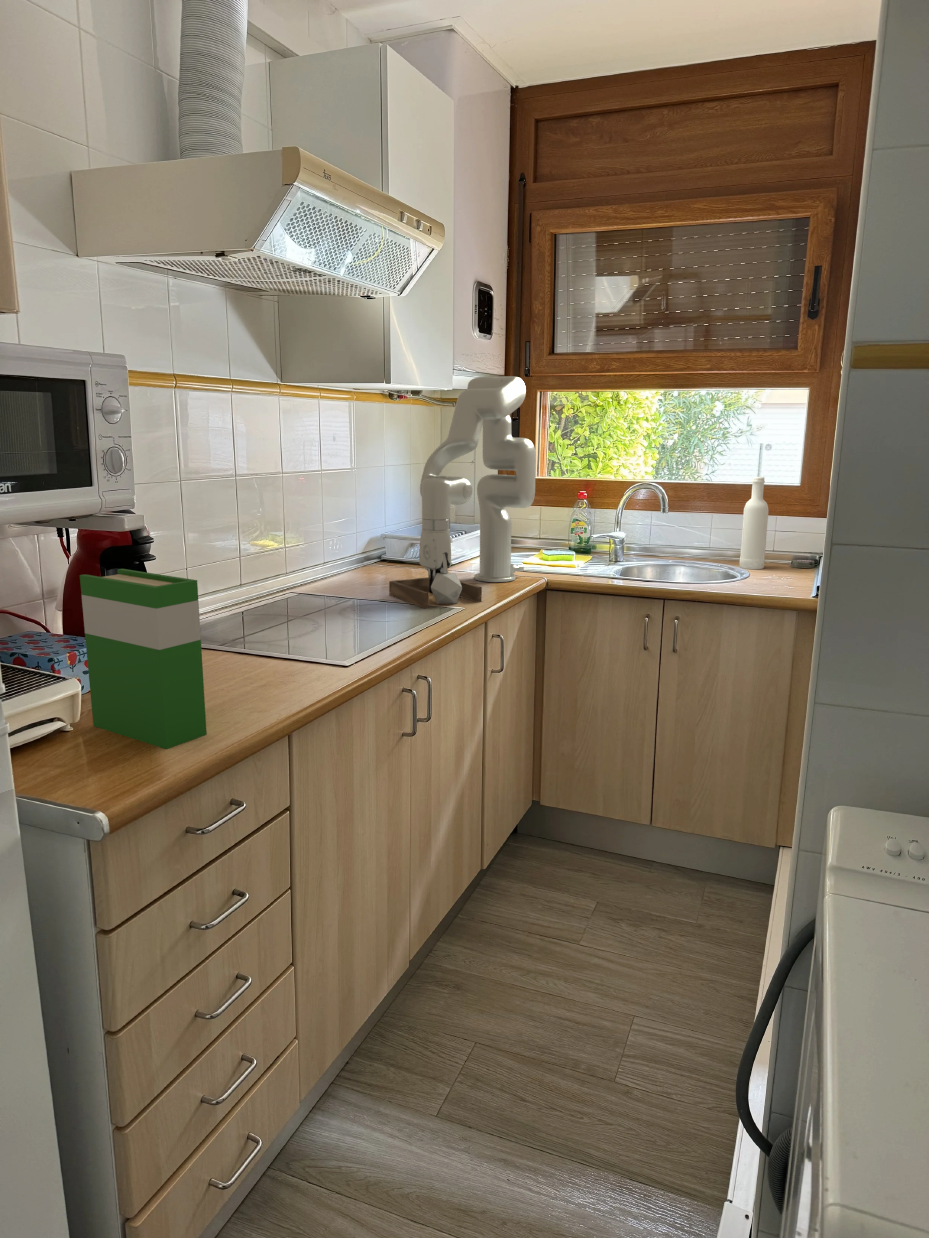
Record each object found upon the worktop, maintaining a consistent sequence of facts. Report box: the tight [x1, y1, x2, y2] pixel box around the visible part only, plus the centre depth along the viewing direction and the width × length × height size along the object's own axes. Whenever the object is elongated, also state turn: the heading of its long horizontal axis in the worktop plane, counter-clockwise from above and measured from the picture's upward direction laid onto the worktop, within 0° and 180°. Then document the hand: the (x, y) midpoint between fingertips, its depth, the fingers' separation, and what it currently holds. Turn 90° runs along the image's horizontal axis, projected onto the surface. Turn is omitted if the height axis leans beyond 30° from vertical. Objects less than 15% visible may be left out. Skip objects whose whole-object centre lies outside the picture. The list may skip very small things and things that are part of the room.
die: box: [431, 572, 462, 605], centre depth 233 cm, size 8×9×10 cm
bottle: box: [739, 476, 769, 570], centre depth 290 cm, size 8×8×30 cm
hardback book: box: [79, 568, 208, 750], centre depth 133 cm, size 18×7×24 cm, turn 56°
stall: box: [388, 577, 483, 609], centre depth 238 cm, size 17×20×4 cm
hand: (435, 593), depth 237 cm, fingers closed
